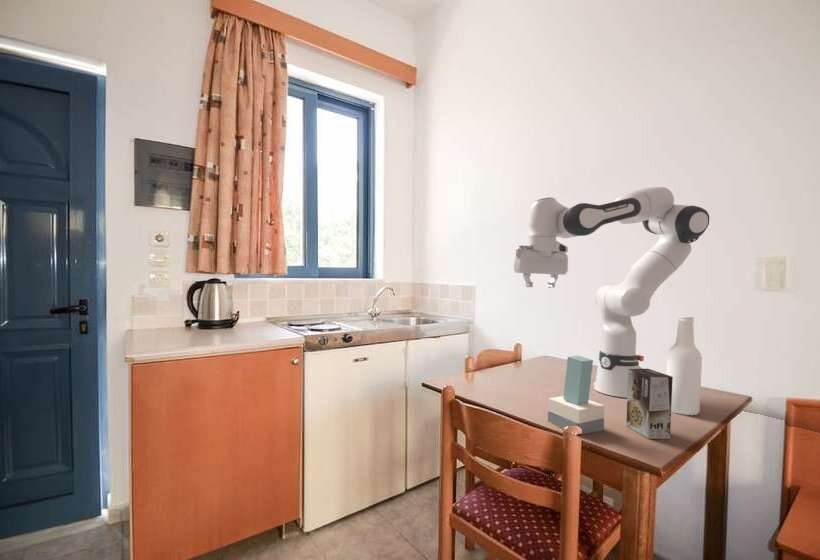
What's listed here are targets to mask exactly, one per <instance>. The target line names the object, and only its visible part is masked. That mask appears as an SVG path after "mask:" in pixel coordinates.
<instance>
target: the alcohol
mask: <svg viewBox="0 0 820 560" xmlns="http://www.w3.org/2000/svg"><path fill="white" fill-rule="evenodd" d="M677 317H678V320H677V321H678V323H677V324H678V325H677V330H676V338H675V339H676V340H675V343H674V344H673V345H672V346H671V347H669V349H668V352H667V353H666V356H667V357H666V375H669V376H672V377H673V381H672V403H671V413H674V414H677V413H678V415H681V414H682V415H683V416H688V415H689V416H690V415H691V417H694V416H693V415H695V416H697V415H698V414H699V413H700V411H701V410H700V408H701V390H702V389H701V386H702V385H701V384H702V369H703V367H702V365H703V357H702V353H701V352H700V351H699V349H698V348H697V347H696V344H695V334H694V331H695V330H694V322H695V321H694V319H695V317H694V316H692V315H683V314H681V315H680V314H679V315H678V316H677Z"/></svg>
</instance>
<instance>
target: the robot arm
mask: <svg viewBox="0 0 820 560" xmlns="http://www.w3.org/2000/svg"><path fill="white" fill-rule="evenodd" d="M529 211H530V212H529V220H528V221H529V222H528V226H529V234H528V240H527V241H528V242H527V245H524V244H520V245H519V246H517V248H516V249H515V250H516V251H515V258H514V262H513V263H514V264H513V271H514V272H515V273H516V274H522V278H523V280H524V281H525V287H526V288H533V286H534V285H533V284H534V281H531V278H530V277H531V275H532V274H536V275H539V274H541V275H550V278H551V279H550V281H549V282H547V287H548V288H549V289H550V288H551V289H554V288H555V287H556V282H557V280H558V278H559V275H561V276H562V275H565V276H566V274H567V273H568V270H569V257H568V254H567V253H568V251H569V248H568V246H567V245H565V244H563V243H561V242H559V241H557V238H561V239H569V238H574V237H575V238H576V237H583V236H584V237H585V236H589V235H591V234H593V233H594V232H596V231H597V230H598V229H600V228H601V227H602V226H604V225H608V224H611V223H615V222H619V223H620V224H622V225H628V224H631V225H632V224H636V223H641V222H642V225H643V227H644V229H645V230H646V231H647V232H649V233H651V234H654V235H659V239H658V240H657V242H656V243H655V244H654V245H653V246H652V247H651V248H649V249H648V250H647V251H646V252H645V253H644V254H643V255H642V256H641V257H640V258H639V259H637V261H636V262H634V263H633V264H632V266H630V268H629V269H630V270H629V272H628V274H627V275H626V277H625V278H624V280H623V281H622V282H620V283H610V284H609V283H608V284H606V285H603V286H601V287H600V288H598V289H597V291H596V292H595V295H594V302H595V304H596V305H597V309H598V316H599V317H598V318H599V320H600V322H599V323H600V327H601V328H600V329H601V331H600V332H601V338H600V340H601V343H600V350H599V353H598V361H599V363H598V365H597V370H596V376H595V381H594V382H593V386H594V387H593V388H594V390H595V391H597V392H598V393H601V394H603V395H604V394H605V395H606V396H607V395H609V396H612V397H618V398H625V399H627V389H628V369H643V368H642V367H641V366H640V363H639V361H640V362H644V361H645V357H644V355H641V354H640V355H639V354H636V351H637V349H636V348H637V331H636V330H635V328H634V325H633V322H632V317H637V316H640V315H643V314H645V313H646V312H647V311H648V309H649V307H650V305H651V298H652V297H653V296H654V294H655V292H656V291H657V290H658V288H659V287H660V286H661V285H662V284H663V283H664V282H665V281H666V280H667V279H668V278H670V277H671V276H672V275H673V274H674V273H675V272H676V271H677V270H678V269H679V268H681V265H683V263H684V262H685V260H686V259H687V258H688V257H689V255H690V254H691V252H692V245H691V243H694V242H697V240H699V238H700V237H701V236H702V235H703V234H704V233H705V231H707V228H708V227H709V225H710V215H709V212H708V211H707V210H706V209H705V208H703V207H700V206H697V205H685V204H675V199H674V194H673V192H672V191H671V190H670V189H668V188H667V187H665V186H653V187H643V188H639V189H634V190H631V191H629V192H625V193H623V194H621V195H620V194H619V195H618V196H617V197H616V198H615V199H614V200H613V201H612V202H611V201H610V202H608V203H603V204H593V203H586V202H581V203H578V204H575V205H573V206H572V207H568V206H567V207H566V206H565V205H563V204H561V203H560V202H559V201H558V200H557V199H556V198H555V197H543V198H540V199H538V200H536V201H535V200H534V202H532V204H531V205H530V210H529Z"/></svg>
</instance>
